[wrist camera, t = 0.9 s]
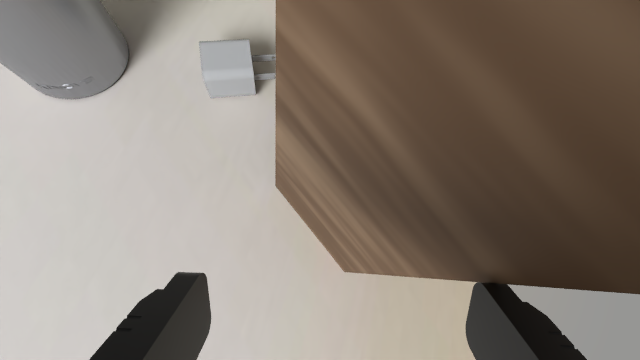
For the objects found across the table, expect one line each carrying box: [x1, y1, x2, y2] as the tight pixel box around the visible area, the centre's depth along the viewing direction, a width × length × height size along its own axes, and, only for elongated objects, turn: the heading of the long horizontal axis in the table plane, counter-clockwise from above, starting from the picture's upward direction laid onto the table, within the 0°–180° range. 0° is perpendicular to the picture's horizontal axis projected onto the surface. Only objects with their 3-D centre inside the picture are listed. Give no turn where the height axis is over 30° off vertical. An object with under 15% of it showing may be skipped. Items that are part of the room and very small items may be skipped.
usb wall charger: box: [199, 39, 276, 98], centre depth 29 cm, size 4×7×4 cm, turn 100°
